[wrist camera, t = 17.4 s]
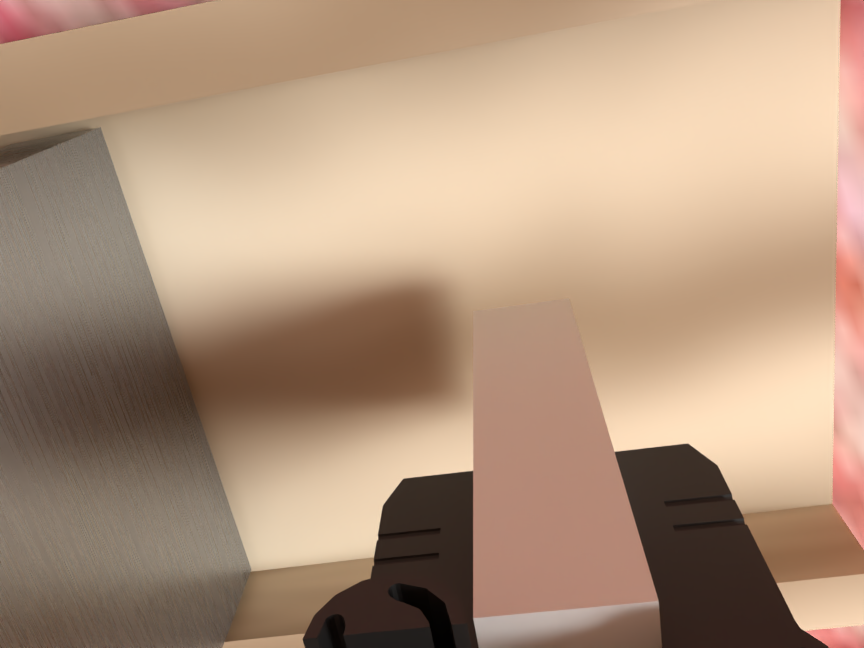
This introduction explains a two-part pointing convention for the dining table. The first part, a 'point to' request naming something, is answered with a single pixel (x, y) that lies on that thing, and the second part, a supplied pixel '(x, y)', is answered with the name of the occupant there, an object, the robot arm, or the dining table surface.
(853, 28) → the dining table surface
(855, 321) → the dining table surface
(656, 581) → the robot arm
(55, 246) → the block
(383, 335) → the lane
